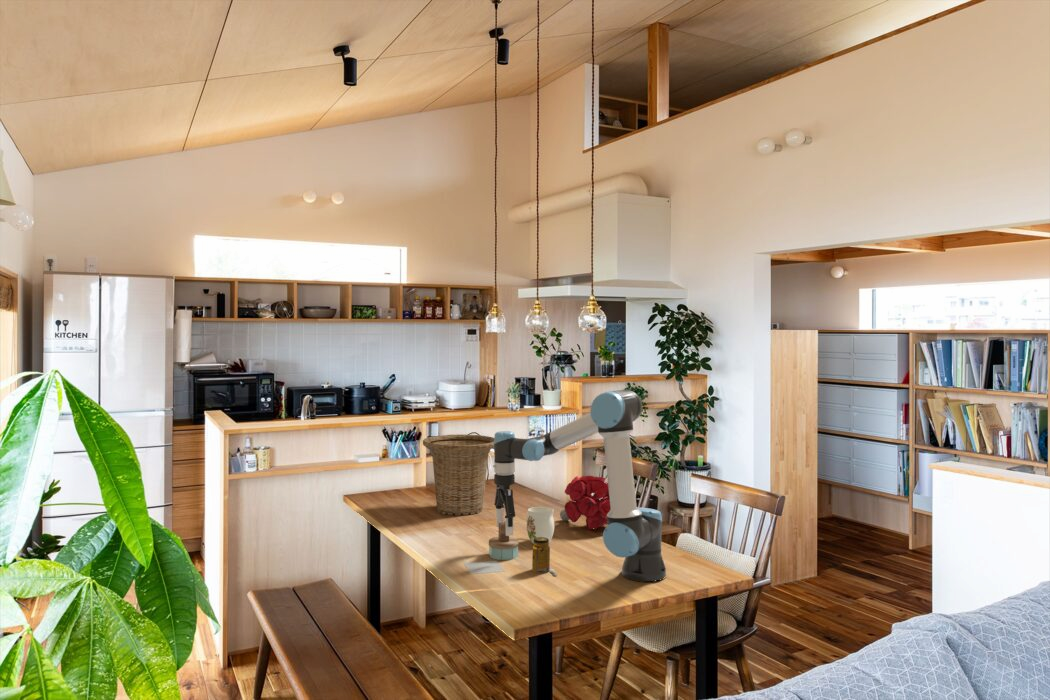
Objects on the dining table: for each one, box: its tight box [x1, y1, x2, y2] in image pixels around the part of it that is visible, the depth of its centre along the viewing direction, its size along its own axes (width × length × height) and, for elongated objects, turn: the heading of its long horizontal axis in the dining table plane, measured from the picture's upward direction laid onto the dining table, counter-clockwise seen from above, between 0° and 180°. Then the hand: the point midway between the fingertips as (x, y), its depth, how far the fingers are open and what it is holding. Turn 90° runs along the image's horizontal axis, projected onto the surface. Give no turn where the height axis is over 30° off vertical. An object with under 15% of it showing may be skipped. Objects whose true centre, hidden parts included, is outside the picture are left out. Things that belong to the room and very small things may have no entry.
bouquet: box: [559, 475, 611, 530], centre depth 315 cm, size 22×24×30 cm
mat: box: [463, 560, 506, 575], centre depth 257 cm, size 12×12×1 cm
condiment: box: [531, 537, 557, 576], centre depth 253 cm, size 7×8×12 cm
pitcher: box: [526, 506, 555, 545], centre depth 291 cm, size 11×18×14 cm, turn 31°
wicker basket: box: [422, 434, 494, 516], centre depth 341 cm, size 35×35×33 cm
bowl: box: [488, 545, 519, 561], centre depth 270 cm, size 10×10×5 cm
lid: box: [488, 521, 520, 549], centre depth 270 cm, size 11×11×8 cm
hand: (504, 530), depth 270 cm, fingers open, 13 cm apart
